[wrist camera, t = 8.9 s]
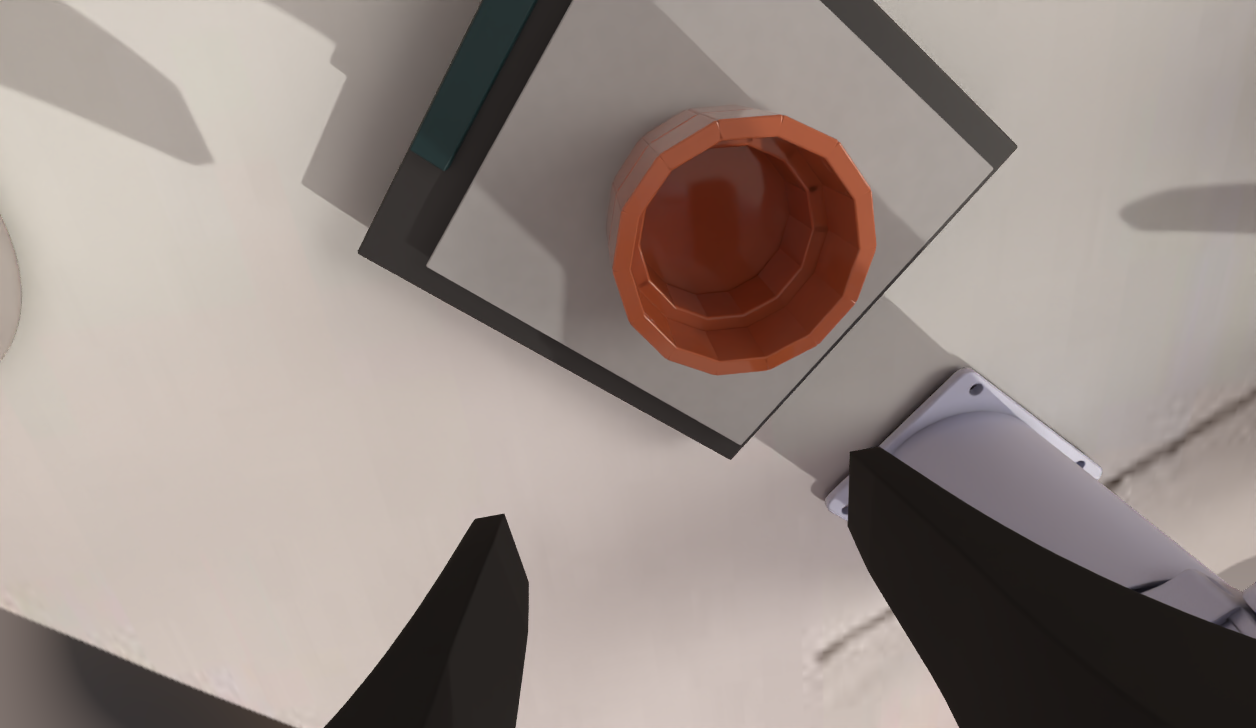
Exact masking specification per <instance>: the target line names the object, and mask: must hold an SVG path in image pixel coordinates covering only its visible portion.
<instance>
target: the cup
mask: <svg viewBox="0 0 1256 728" xmlns="http://www.w3.org/2000/svg"><path fill="white" fill-rule="evenodd" d="M613 181H614V182H612V185H611V192H610V199H609V206H608V214H607V221H606V236H607V242H608V248H609V255H610V261H611V267H612V273H613V276H614V279H615V282H616V285H617V288H618V291H619V294H620V297H621V300H622V304H623V307H624V310H625V313H626V316H627V319H628V321H629V323H630V325H631V326H632V327H633V328H634V329H635V330H636V331H637V332H638V333H639V334H640V335H641V336H642V337H644V338H645V339H646V340H647V341H648V342H649V343H650V344H651V345H652V346H653V347H654V348H655V349H656V350H657V351H658V352H659V353H660V354H661V355H662V356H663V357H664V358H665V359H667V360H669V361H672V362H675V363H678V364H681V365H684V366H687V367H690V368H693V369H696V370H699V371H702V372H705V373H708V374H712V375H717V376H719V375H729V374H739V373H750V372H760V371H767V370H771V369H773V368H775V367H777V366H779V365H781V364H783V363H785V362H786V361H788V360H790V359H792V358H794V357H796V356H798V355H800V354H802V353H804V352H806V351H808V350H810V349H812V348H814V347H816V346H817V344H820V343H821V342H822V340H823V339H824V338H825V337H826V336H827V335H828V334H829V333H830V332H831V330H832V329H833V328H834V327H835V326H836V325H837V324H838V323H839V322H840V320H841V319H842V318H843V317H844V316H845V315H846V314H847V313H848V312H849V310H850V309H851V308H852V307H853V306H854V305H855V304H856V302H857V300H858V298H859V295H860V292H861V289H862V287H863V284H864V281H865V278H866V276H867V273H868V270H869V267H870V265H871V262H872V259H873V257H874V254H875V251H876V248H875V247H876V246H877V245H876V233H875V222H874V210H873V198H872V191H871V187H870V186H869V184H868V183H867V181H866V180H865V178H864V177H863V175H862V174H861V172H860V171H859V169H858V168H857V166H856V165H855V163H854V162H853V160H852V159H851V157H850V156H849V154H848V153H847V151H846V150H845V148H844V147H843V145H842V144H841V142H839V141H838V140H837V139H835V138H833V137H831V136H829V135H827V134H825V133H823V132H820V131H818V130H816V129H814V128H812V127H810V126H808V125H805V124H803V123H801V122H799V121H797V120H795V119H793V118H791V117H788V116H786V115H783V114H778V113H774V112H770V111H765V110H761V109H755V108H751V107H746V106H742V105H741V106H740V105H736V104H734V105H721V106H709V107H696V108H689V109H688V110H683V111H682V112H680V113H678V114H677V115H675V116H673V117H672V118H670V119H669V120H667V121H665V122H664V123H662V124H660V125H659V126H657V127H656V128H654V129H652V130H651V131H649V132H647V133H646V134H644V136H643V138H640V139H639V140H638V142H637V143H636V145H635V146H634V148H633V149H632V151H631V152H630V154H629V156H628V157H627V159H626V160H625V162H624V163H623V165H622V166H621V168H620V169H619V171H618V172H617V174H616V176H615V177H614V179H613Z"/></svg>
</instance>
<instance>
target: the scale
mask: <svg viewBox="0 0 1256 728" xmlns="http://www.w3.org/2000/svg"><path fill="white" fill-rule="evenodd" d="M734 104H736V105H740V106H741V105H742V106H746V107H751V108H755V109H761V110H765V111H770V112H774V113H778V114H783V115H786V116H788V117H791V118H793V119H795V120H797V121H799V122H801V123H803V124H805V125H808V126H810V127H812V128H814V129H816V130H818V131H820V132H823V133H825V134H827V135H829V136H831V137H833V138H835V139H837V140H838V141H839V142H841V144H842V145H843V147H844V148H845V150H846V151H847V153H848V154H849V156H850V157H851V159H852V160H853V162H854V163H855V165H856V166H857V168H858V169H859V171H860V172H861V174H862V175H863V177H864V178H865V180H866V181H867V183H868V184H869V186H870V187H871V191H872V198H873V210H874V222H875V233H876V245H877V246H876V247H875V248H876V251H875V254H874V257H873V259H872V262H871V265H870V267H869V270H868V273H867V276H866V278H865V281H864V284H863V287H862V289H861V292H860V295H859V298H858V300H857V302H856V304H855V305H854V306H853V307H852V308H851V309H850V310H849V312H848V313H847V314H846V315H845V316H844V317H843V318H842V319H841V320H840V322H839V323H838V324H837V325H836V326H835V327H834V328H833V329H832V330H831V332H830V333H829V334H828V335H827V336H826V337H825V338H824V339H823V340H822V342H821V343H820V344H817V346H816V347H814V348H812V349H810V350H808V351H806V352H804V353H802V354H800V355H798V356H796V357H794V358H792V359H790V360H788V361H786V362H785V363H783V364H781V365H779V366H777V367H775V368H773V369H771V370H767V371H760V372H750V373H739V374H729V375H719V376H717V375H712V374H708V373H705V372H702V371H699V370H696V369H693V368H690V367H687V366H684V365H681V364H678V363H675V362H672V361H669V360H667V359H665V358H664V357H663V356H662V355H661V354H660V353H659V352H658V351H657V350H656V349H655V348H654V347H653V346H652V345H651V344H650V343H649V342H648V341H647V340H646V339H645V338H644V337H642V336H641V335H640V334H639V333H638V332H637V331H636V330H635V329H634V328H633V327H632V326H631V325H630V323H629V321H628V319H627V316H626V313H625V310H624V307H623V304H622V300H621V297H620V294H619V291H618V288H617V285H616V282H615V279H614V276H613V273H612V267H611V261H610V255H609V248H608V242H607V236H606V221H607V214H608V206H609V199H610V192H611V185H612V182H614V181H613V179H614V177H615V176H616V174H617V172H618V171H619V169H620V168H621V166H622V165H623V163H624V162H625V160H626V159H627V157H628V156H629V154H630V152H631V151H632V149H633V148H634V146H635V145H636V143H637V142H638V140H639V139H640V138H643V136H644V134H646V133H647V132H649V131H651V130H652V129H654V128H656V127H657V126H659V125H660V124H662V123H664V122H665V121H667V120H669V119H670V118H672V117H673V116H675V115H677V114H678V113H680V112H682V111H683V110H688V109H689V108H696V107H709V106H721V105H734ZM1016 149H1017V145H1016V144H1015V143H1014V142H1013V141H1012V140H1011V139H1010V138H1009V137H1008V136H1007V135H1006V134H1005V133H1004V132H1003V131H1002V130H1001V129H1000V128H999V127H998V126H997V125H996V124H995V123H994V122H993V121H992V120H991V119H990V118H989V117H988V116H987V115H986V114H985V113H984V112H983V111H982V110H981V109H980V108H979V107H978V106H977V105H976V104H975V103H974V102H973V101H972V100H971V99H970V98H969V97H968V95H967V94H966V93H965V92H964V91H963V90H962V89H961V88H960V87H959V86H958V85H957V84H956V83H955V82H954V81H953V80H952V79H951V78H950V77H949V76H948V75H947V74H946V73H945V72H944V71H943V70H942V69H941V68H940V67H939V66H938V65H937V64H936V63H935V62H934V61H933V60H932V59H931V58H930V57H929V56H928V55H927V54H926V53H925V52H924V51H923V50H922V49H921V48H920V47H919V46H918V45H917V44H916V43H915V42H914V41H913V40H912V39H911V38H910V37H909V36H908V35H907V34H906V33H905V32H904V31H903V30H902V29H901V28H900V27H899V26H898V25H897V24H896V23H895V22H894V21H893V20H892V19H891V18H890V17H889V16H888V15H887V14H886V13H885V12H884V11H883V10H882V9H881V8H880V7H879V6H878V5H877V4H876V3H875V2H874V1H873V0H482V1H481V3H480V5H479V8H478V10H477V12H476V14H475V16H474V18H473V20H472V22H471V24H470V26H469V28H468V30H467V32H466V34H465V36H464V38H463V40H462V42H461V44H460V46H459V48H458V50H457V52H456V54H455V56H454V58H453V60H452V62H451V64H450V66H449V68H448V70H447V72H446V74H445V76H444V78H443V80H442V82H441V84H440V86H439V88H438V90H437V92H436V94H435V96H434V98H433V100H432V102H431V104H430V106H429V108H428V110H427V112H426V114H425V116H424V119H423V121H422V123H421V125H420V127H419V129H418V131H417V133H416V135H415V137H414V139H413V141H412V143H411V145H410V147H409V149H408V151H407V153H406V155H405V157H404V159H403V161H402V163H401V165H400V167H399V169H398V171H397V173H396V175H395V177H394V179H393V181H392V183H391V185H390V187H389V189H388V191H387V193H386V195H385V197H384V199H383V201H382V203H381V205H380V207H379V209H378V211H377V213H376V215H375V217H374V219H373V221H372V223H371V225H370V227H369V229H368V232H367V234H366V236H365V238H364V240H363V242H362V244H361V246H360V248H359V250H358V254H360V255H361V256H363V257H365V258H367V259H369V260H370V261H372V262H374V263H376V264H378V265H379V266H381V267H383V268H385V269H387V270H388V271H390V272H392V273H394V274H396V275H397V276H399V277H401V278H403V279H405V280H406V281H408V282H410V283H412V284H414V285H416V286H417V287H419V288H421V289H423V290H425V291H426V292H428V293H430V294H432V295H434V296H435V297H437V298H439V299H441V300H443V301H444V302H446V303H448V304H450V305H452V306H453V307H455V308H457V309H459V310H461V311H462V312H464V313H466V314H468V315H470V316H471V317H473V318H475V319H477V320H479V321H481V322H482V323H484V324H486V325H488V326H490V327H491V328H493V329H495V330H497V331H499V332H500V333H502V334H504V335H506V336H508V337H509V338H511V339H513V340H515V341H517V342H518V343H520V344H522V345H524V346H526V347H527V348H529V349H531V350H533V351H535V352H536V353H538V354H540V355H542V356H544V357H546V358H547V359H549V360H551V361H553V362H555V363H556V364H558V365H560V366H562V367H564V368H565V369H567V370H569V371H571V372H573V373H574V374H576V375H578V376H580V377H582V378H583V379H585V380H587V381H589V382H591V383H592V384H594V385H596V386H598V387H600V388H602V389H603V390H605V391H607V392H609V393H611V394H612V395H614V396H616V397H618V398H620V399H621V400H623V401H625V402H627V403H629V404H630V405H632V406H634V407H636V408H638V409H639V410H641V411H643V412H645V413H647V414H648V415H650V416H652V417H654V418H656V419H657V420H659V421H661V422H663V423H665V424H667V425H668V426H670V427H672V428H674V429H676V430H677V431H679V432H681V433H683V434H685V435H686V436H688V437H690V438H692V439H694V440H695V441H697V442H699V443H701V444H703V445H704V446H706V447H708V448H710V449H712V450H713V451H715V452H717V453H719V454H721V455H722V456H724V457H726V458H728V459H730V460H731V459H732V458H733V457H734V456H735V455H736V454H737V453H738V452H739V450H740V449H741V448H742V447H743V446H744V445H745V444H746V443H747V442H748V441H749V440H750V438H751V437H752V436H753V435H754V434H755V433H756V432H757V431H758V430H759V429H760V428H761V426H762V425H763V424H764V423H765V422H766V421H767V420H768V419H769V418H770V417H771V416H772V414H773V413H774V412H775V411H776V410H777V409H778V408H779V407H780V406H781V405H782V404H783V402H784V401H785V400H786V399H787V398H788V397H789V396H790V395H791V394H792V393H793V392H794V391H795V389H796V388H797V387H798V386H799V385H800V384H801V383H802V382H803V381H804V380H805V379H806V377H807V376H808V375H809V374H810V373H811V372H812V371H813V370H814V369H815V368H816V367H817V365H818V364H819V363H820V362H821V361H822V360H823V359H824V358H825V357H826V356H827V355H828V353H829V352H830V351H831V350H832V349H833V348H834V347H835V346H836V345H837V344H838V343H839V341H840V340H841V339H842V338H843V337H844V336H845V335H846V334H847V333H848V332H849V331H850V329H851V328H852V327H853V326H854V325H855V324H856V323H857V322H858V321H859V320H860V319H861V318H862V316H863V315H864V314H865V313H866V312H867V311H868V310H869V309H870V308H871V307H872V306H873V304H874V303H875V302H876V301H877V300H878V299H879V298H880V297H881V296H882V295H883V294H884V292H885V291H886V290H887V289H888V288H889V287H890V286H891V285H892V284H893V283H894V282H895V280H896V279H897V278H898V277H899V276H900V275H901V274H902V273H903V272H904V271H905V270H906V268H907V267H908V266H909V265H910V264H911V263H912V262H913V261H914V260H915V259H916V258H917V257H918V255H919V254H920V253H921V252H922V251H923V250H924V249H925V248H926V247H927V246H928V245H929V243H930V242H931V241H932V240H933V239H934V238H935V237H936V236H937V235H938V234H939V233H940V231H941V230H942V229H943V228H944V227H945V226H946V225H947V224H948V223H949V222H950V221H951V219H952V218H953V217H954V216H955V215H956V214H957V213H958V212H959V211H960V210H961V209H962V207H963V206H964V205H965V204H966V203H967V202H968V201H969V200H970V199H971V198H972V197H973V195H974V194H975V193H976V192H977V191H978V190H979V189H980V188H981V187H982V186H983V185H984V184H985V182H986V181H987V180H988V179H989V178H990V177H991V176H992V175H993V174H994V173H995V172H996V170H997V169H998V168H999V167H1000V166H1001V165H1002V164H1003V163H1004V162H1005V161H1006V160H1007V158H1008V157H1009V156H1010V155H1011V154H1012V153H1013V152H1014V151H1015V150H1016Z"/></svg>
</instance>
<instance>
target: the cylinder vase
mask: <svg viewBox="0 0 1256 728" xmlns="http://www.w3.org/2000/svg"><path fill="white" fill-rule="evenodd" d="M21 304H22V286H21V277H20V270H19V266H18V261H17V257H16V253H15V250H14V247H13V244H12V241H11V238H10V235H9V233H8V230H7V228H6V226H5V223H4V221H3V219H2V217H1V215H0V362H1V360H2V359H3V357H4V356H5V354H6V353H7V351H8V349H9V348H10V346H11V344H12V341H13V339H14V336H15V334H16V331H17V328H18V324H19V320H20V314H21Z"/></svg>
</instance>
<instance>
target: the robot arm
mask: <svg viewBox="0 0 1256 728" xmlns="http://www.w3.org/2000/svg"><path fill="white" fill-rule="evenodd" d="M975 384H976V386H975V387H974V388H973V389H971V390H970V388H971V387H972V386H973V385H975ZM1101 475H1102V468H1101V467H1100V466H1099V465H1098V464H1096V463H1095V462H1094V461H1092V460H1091V459H1090V458H1088V457H1087V456H1086V455H1085V454H1083V453H1082V452H1081V451H1079V450H1078V449H1077V448H1075V447H1074V446H1073V445H1071V444H1070V443H1069V442H1067V441H1066V440H1065V439H1063V438H1062V437H1061V436H1060V435H1058V434H1057V433H1056V432H1054V431H1053V430H1052V429H1050V428H1049V427H1048V426H1046V425H1045V424H1044V423H1042V422H1041V421H1040V420H1039V419H1037V418H1036V417H1035V416H1033V415H1032V414H1031V413H1029V412H1028V411H1027V410H1025V409H1024V408H1023V407H1021V406H1020V405H1019V404H1018V403H1016V402H1015V401H1014V400H1012V399H1011V398H1010V397H1008V396H1007V395H1006V394H1004V393H1003V392H1002V391H1000V390H999V389H998V388H996V387H995V386H994V385H993V384H991V383H990V382H989V381H987V380H986V379H985V378H983V377H982V376H981V375H979V374H978V373H977V372H975V371H974V370H973V369H971V368H962V369H959V370H958V371H956V372H955V373H954V374H953V375H952V376H951V377H950V378H949V379H948V380H947V381H946V382H945V383H944V384H942V385H941V386H940V387H939V388H938V389H937V390H936V391H935V392H934V393H933V394H932V395H931V396H930V397H929V398H928V399H927V400H926V401H925V402H924V403H923V404H922V405H921V406H920V407H919V408H918V409H917V410H916V411H914V412H913V413H912V414H911V415H910V416H909V417H908V418H907V419H906V420H905V421H904V422H903V423H902V424H901V425H900V426H899V427H898V428H897V429H896V430H895V431H894V432H893V433H892V434H891V435H890V436H889V437H888V438H887V439H885V440H884V441H883V442H882V443H881V444H880V445H879V446H878V447H874V448H869V449H863V450H858V451H852V452H850V465H849V475H848V476H847V477H846V478H845V479H844V480H843V481H842V482H841V483H840V484H839V485H838V486H837V487H836V488H835V489H834V490H833V491H832V492H831V493H830V494H828V496H827V497H826V499H825V504H826V506H827V508H828V510H829V511H830V512H832V513H834V514H835V515H837V516H839V517H841V518H842V519H844V520H846V521H848V528H849V530H850V532H851V534H852V537H853V539H854V541H855V543H856V546H857V548H858V550H859V552H860V555H861V557H862V559H863V561H864V563H865V565H866V567H867V569H868V571H869V573H870V575H871V577H872V578H873V580H874V582H875V583H876V585H877V587H878V588H879V590H880V592H881V593H882V595H883V597H884V598H885V600H886V602H887V603H888V605H889V607H890V608H891V610H892V611H893V613H894V615H895V616H896V618H897V620H898V621H899V623H900V624H901V626H902V628H903V629H904V631H905V633H906V634H907V636H908V637H909V639H910V641H911V642H912V644H913V646H914V647H915V649H916V651H917V652H918V654H919V655H920V657H921V659H922V660H923V662H924V664H925V665H926V667H927V668H928V670H929V672H930V673H931V675H932V677H933V679H934V680H935V682H936V684H937V686H938V688H939V689H940V691H941V693H942V695H943V696H944V698H945V700H946V702H947V704H948V706H949V708H950V710H951V712H952V714H953V716H954V718H955V720H956V722H957V724H958V726H959V728H1256V582H1255V583H1254V584H1252V585H1251V586H1249V587H1248V588H1247V589H1245V590H1244V591H1243V592H1242V591H1240V590H1238V589H1236V588H1233V587H1231V586H1230V585H1229V584H1227V583H1226V582H1225V581H1224V580H1222V579H1221V578H1220V577H1219V576H1217V575H1216V574H1215V573H1214V572H1212V571H1211V570H1210V569H1209V568H1207V567H1206V566H1205V565H1204V564H1202V563H1201V562H1200V561H1199V560H1197V559H1196V558H1195V557H1194V556H1192V555H1191V554H1190V553H1189V552H1187V551H1186V550H1185V549H1183V548H1182V547H1181V546H1180V545H1178V544H1177V543H1176V542H1175V541H1173V540H1172V539H1171V538H1170V537H1168V536H1167V535H1166V534H1165V533H1163V532H1162V531H1161V530H1160V529H1158V528H1157V527H1156V526H1154V525H1153V524H1152V523H1151V522H1149V521H1148V520H1147V519H1146V518H1144V517H1143V516H1142V515H1141V514H1139V513H1138V512H1137V511H1136V510H1134V509H1133V508H1132V507H1131V506H1129V505H1128V504H1127V503H1126V502H1124V501H1123V500H1122V499H1120V498H1119V497H1118V496H1117V495H1115V494H1114V493H1113V492H1112V491H1110V490H1109V489H1108V488H1107V487H1105V486H1104V485H1103V484H1102V483H1100V482H1099V481H1098V479H1099V478H1100V477H1101ZM846 505H848V506H847V507H846V508H843V507H845V506H846ZM528 612H529V582H528V579H527V576H526V573H525V570H524V568H523V565H522V562H521V559H520V556H519V554H518V551H517V548H516V545H515V542H514V540H513V537H512V534H511V531H510V528H509V526H508V523H507V520H506V517H505V514H500V515H494V516H489V517H483V518H477V519H475V520H474V521H473V523H472V524H471V526H470V527H469V529H468V530H467V532H466V534H465V535H464V537H463V539H462V540H461V542H460V543H459V545H458V547H457V548H456V550H455V552H454V553H453V555H452V557H451V558H450V560H449V561H448V563H447V565H446V566H445V568H444V569H443V571H442V572H441V574H440V576H439V577H438V579H437V580H436V582H435V583H434V585H433V586H432V588H431V589H430V591H429V592H428V594H427V595H426V597H425V599H424V600H423V602H422V603H421V605H420V606H419V608H418V609H417V611H416V612H415V613H414V615H413V616H412V618H411V619H410V621H409V622H408V623H407V625H406V626H405V627H404V629H403V630H402V632H401V633H400V634H399V636H398V637H397V639H396V640H395V641H394V643H393V644H392V645H391V647H390V648H389V650H388V651H387V652H386V654H385V655H384V656H383V658H382V659H381V660H380V662H379V663H378V664H377V665H376V667H375V668H374V669H373V671H372V672H371V673H370V674H369V676H368V677H367V678H366V679H365V681H364V682H363V683H362V684H361V685H360V687H359V688H358V689H357V690H356V691H355V693H354V694H353V695H352V696H351V697H350V699H349V700H348V701H347V702H346V703H345V705H344V706H343V707H342V708H341V709H340V710H339V712H338V713H337V714H336V715H335V716H334V717H333V718H332V719H331V720H330V721H329V723H328V724H327V725H326V726H325V727H324V728H515V727H516V720H517V712H518V705H519V697H520V690H521V683H522V675H523V667H524V660H525V652H526V644H527V636H528Z"/></svg>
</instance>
